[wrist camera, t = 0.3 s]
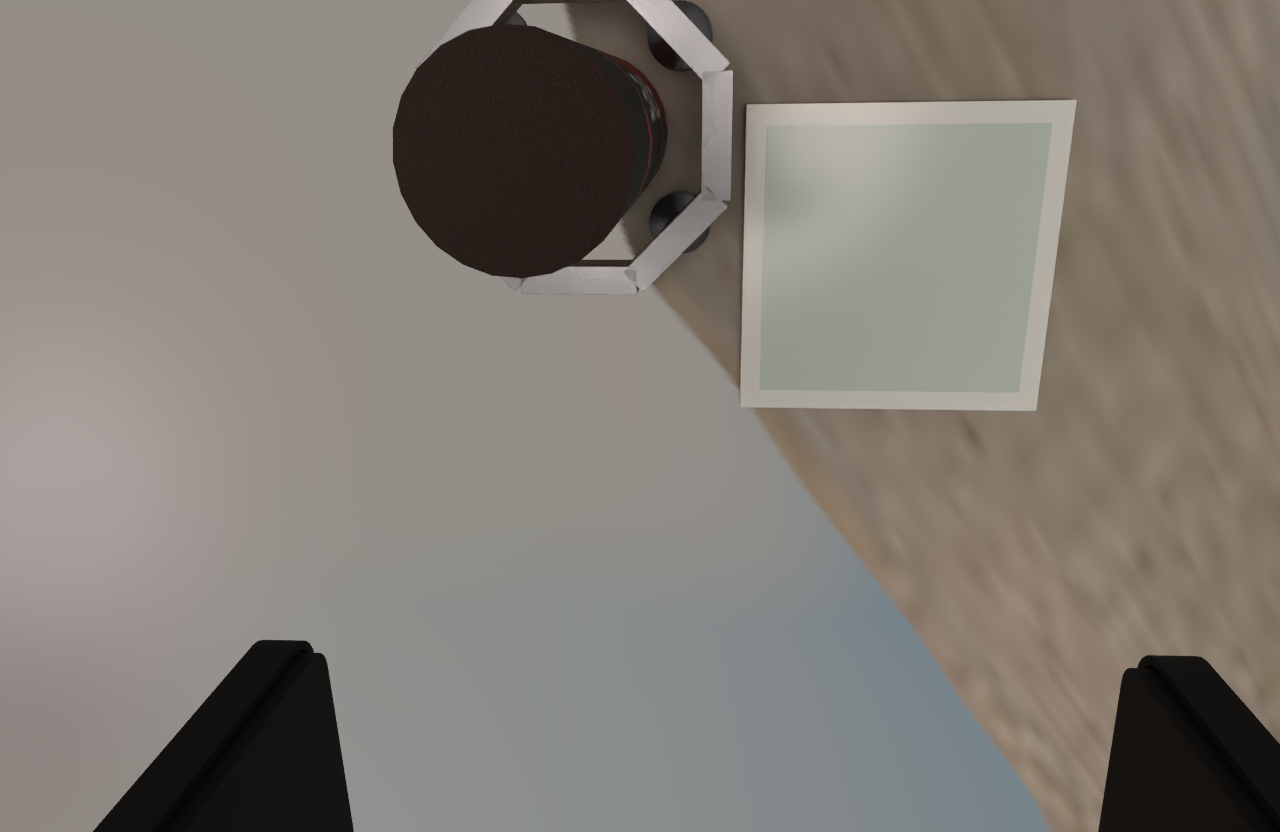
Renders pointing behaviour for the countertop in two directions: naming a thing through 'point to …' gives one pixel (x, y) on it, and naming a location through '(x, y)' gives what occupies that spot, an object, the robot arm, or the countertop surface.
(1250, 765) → the robot arm
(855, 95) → the countertop surface
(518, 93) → the deodorant
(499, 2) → the ring stand
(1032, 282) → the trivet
